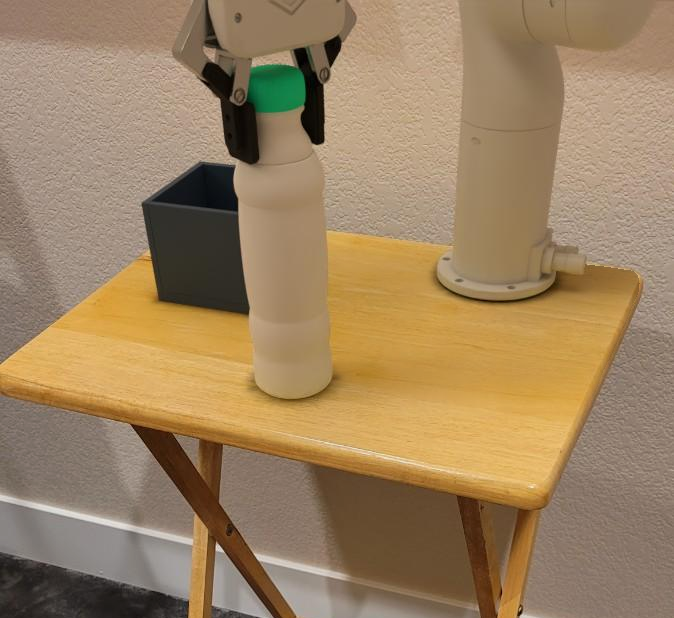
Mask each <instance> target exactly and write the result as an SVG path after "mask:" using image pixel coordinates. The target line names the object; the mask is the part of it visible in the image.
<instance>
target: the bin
mask: <svg viewBox="0 0 674 618" xmlns="http://www.w3.org/2000/svg"><path fill="white" fill-rule="evenodd" d="M235 167H236V164H229V163H221V162H210V161H201V160H200V161H198V162H197V163H195V164H194V165H193V166H191V167H190V168H189V169H187V170H186V171H184V172H182V173H181V174H180V175H179V176H177V177H175V178H174V179H173V180H171V181H170V182H169V183H167V184H166V185H164V186H163V187H162V188H160V189H158V190H157V191H156V192H155V193H153V194H152V195H150V196H149V197H147V198H146V199H145V200H143V201H142V202H141V203H140V204H141V209H142V215H143V221H144V225H145V232H146V238H147V242H148V248H149V253H150V254H149V255H150V259H151V265H152V270H153V271H152V272H153V276H154V281H155V287H156V292H157V298H158V301H160V302H167V303H174V304H179V305H180V304H181V305H186V306H187V305H188V306H193V307H200V308H205V309H210V310H211V309H212V310H218V311H225V312H231V313H238V314H245V315H249V311H250V306H249V301H248V297H247V291H246V285H245V279H244V271H243V263H242V254H241V244H240V232H239V213H238V197H237V195H236V192H235V189H234V171H235Z"/></svg>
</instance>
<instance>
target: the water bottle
mask: <svg viewBox="0 0 674 618" xmlns="http://www.w3.org/2000/svg"><path fill="white" fill-rule="evenodd" d="M247 101H248V102H251V103H253V104H254V106H255V112H256V123H257V135H258V146H259V160H258V162H257V163H255V164H252V165H250V164H247V163H245V162H243V161H240V160H238V159H237V162H236V164H235V165H236V167H235V171H234V189H235V192H236V195H237V197H238V213H239V232H240V244H241V254H242V263H243V271H244V279H245V285H246V291H247V297H248V301H249V306H250V311H249V314H248V327H249V335H250V339H251V343H252V349H253V350H252V358H253V359H252V364H253V375H254V381H255V383H256V385H257V387H258V389H260V390H261V391H263V392H264V393H265V394H267V395H269V396H271V397H274V398H278V399H284V400H298V399H299V400H300V399H305V398H309V397H312V396H314V395H317V394H318V393H320V392H322V391H323V390H325V389H326V388H327V387H328V386H329V384H330V383H331V382H332V378H333V359H332V358H333V357H332V350H331V345H330V338H331V315H330V310H329V309H330V308H329V306H328V296H329V295H328V294H329V257H328V256H329V253H328V234H327V221H326V220H327V219H326V209H325V202H324V196H323V193H324V191H325V185H326V176H325V171H324V168H323V164H322V162H321V160H320V158H319V156H318V154H317V152H316V150H315V149H314V148H313V144H312V143H311V140H310V138H309V136H308V134H307V133H306V131H305V130H304V128H303V126H302V124H301V118H300V117H301V113H302V111H303V110H304V103H305V81H304V76H303V74H302V72H301V70H300V69H298V68H296V67H294V65H289V64H282V63H279V64H278V63H275V64H274V63H272V64H259V65H256V66H253V67H252V66H251V72H250V79H249V86H248V93H247Z"/></svg>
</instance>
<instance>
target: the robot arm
mask: <svg viewBox="0 0 674 618" xmlns="http://www.w3.org/2000/svg"><path fill="white" fill-rule="evenodd" d="M658 1H659V0H457V2H458V10H459V19H460V27H461V29H460V30H461V39H462V40H461V41H462V90H461V105H460V120H459V136H458V151H457V152H458V153H457V168H456V169H457V170H456V185H455V200H454V216H453V217H454V219H453V233H452V235H453V236H452V249H450V250H448V251H446V252H445V253H443V254H442V256H440V257H439V259H438V261H437V263H436V264H437V265H436V277H437V279H438V281H439V282H440V283H441V284H442V285H443V287H445V288H447V289H448V290H450V291H452V292H453V293H456V294H458V295H461V296H464V297H467V298H468V297H469V298H472V299H477V300H486V301H514V300H521V299H526V298H530V297H533V296H536V295H538V294H541V293H543V292H545V291H546V290H547V289H549V288H550V287H551V286H552V285H553V284H554V282H555V281H556V275H557V272H563V273H566V274H571V275H579V276H583V274H584V272H585V268H586V264H587V257H588V255H587V254H581V253H579V250H580V248H579V246H576V245H575V246H574V245H560V244H557V241H553V233H554V228H552V227H548V223H549V216H550V209H551V200H552V194H553V187H554V186H553V185H554V180H555V171H556V164H557V156H558V148H559V147H558V146H559V140H560V135H561V134H560V132H561V126H562V119H563V113H564V107H565V106H564V105H565V80H564V72H563V68H562V64H561V61H560V58H559V57H560V56H559V54H558V51H557V48H556V46H559V47H563V48H570V49H577V50H583V51H588V52H589V51H590V52H597V53H599V52H600V53H607V52H609V53H610V52H614V51H617V50H620V49H622V48H624V47H625V46H627V45H628V44H629V43H631V42H632V41H633V40H634V39H635V38H636V37H637V36H638V35H639V33H640V32H641V31H642V30H643V28H644V26H645V25H646V23H647V21H648V20H649V18H650V17H651V15H652V12H653V11H654V9H655V7H656V5H657V3H658ZM189 3H190V7H189V9H188V12H187V15H186V17H185V18H184V20H183V23H182V26H181V28H180V30H179V32H178V34H177V37H176V39H175V41H174V42H173V43H174V44H173V46H172V49H171V55H172V57H173V59H174V60H176V61H177V62H178V63H179V64H180V65H181V66H183V67H184V68H185V69H186V70H188V71H189V72H190V73H192V74H193V75H194V76H195V77H196V78H197V79H198V80H199V81H200V82H201V83H202V84H203V85H204V86H205V87H206V88H207V89H209V91H211V94H212V95H213V96H214V98H217V99H219V103H220V111H221V120H222V130H223V140H224V144H225V146H226V149H227V151H228V154H229V156H230V157H231V158H234V159H236V160H237V161H238V160H240V161H243V162H245V163H247V164H250V165H252V164H255V163H257V162H258V160H259V146H258V135H257V123H256V112H255V106H254V104H253V103H251V102H248V101H247V93H248V86H249V79H250V72H251V68H252V66H253V59H254V58H259V57H260V58H261V57H264V56H265V57H266V56H269V55H274V54H277V53H283V52H287V51H289V53H290V57H291V59H292V63H293V66H294V67H296V68H298V69H300V70H301V72H302V74H303V76H304V81H305V103H304V110H303V111H302V113H301V117H300V118H301V124H302V126H303V128H304V130H305V131H306V133H307V134H308V136H309V138H310V140H311V143H312V145H315V146H320V145H323V144H324V143H325V141H326V136H325V124H326V115H325V113H326V111H325V87H324V86H325V85H326V84H328V83H329V81H331V77H332V71H331V69H332V67H333V65H334V63H335V61H336V60H337V58H338V56H339V54H340V52H341V50H342V47H343V46H342V45H343V43H345V41H346V40H347V38H348V36H349V35H350V33H351V32H352V30H353V29H354V27H355V26H356V24H357V19H358V18H357V14H356V12H355V10H354V8H353V7H352V6H351V4H350V3H349V1H348V0H189ZM204 47H205V48H207V49H213V50H214V49H215V53H214V61H213V60H211V58H209V56H207V55H206V53H205V51H204Z"/></svg>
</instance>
